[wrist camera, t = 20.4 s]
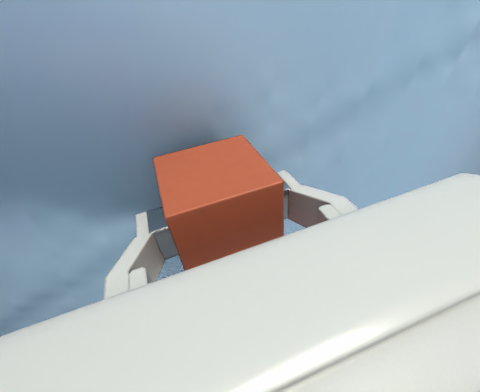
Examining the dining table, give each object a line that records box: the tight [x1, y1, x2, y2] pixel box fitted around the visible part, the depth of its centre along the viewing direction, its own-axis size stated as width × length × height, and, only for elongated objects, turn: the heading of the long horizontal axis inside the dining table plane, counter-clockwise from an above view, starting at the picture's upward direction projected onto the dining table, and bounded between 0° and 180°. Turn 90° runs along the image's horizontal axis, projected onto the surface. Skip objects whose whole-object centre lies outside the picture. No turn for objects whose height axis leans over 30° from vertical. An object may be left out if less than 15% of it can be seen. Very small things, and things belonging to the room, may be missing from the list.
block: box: [153, 135, 284, 271], centre depth 13 cm, size 5×5×5 cm
